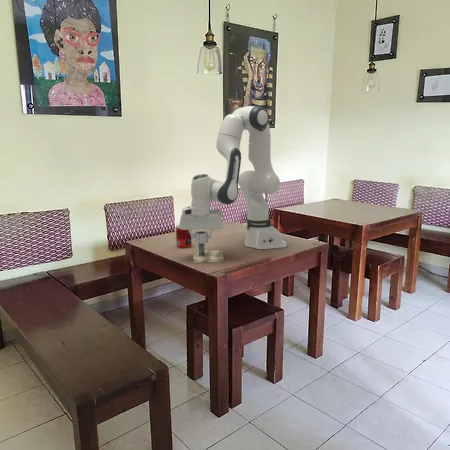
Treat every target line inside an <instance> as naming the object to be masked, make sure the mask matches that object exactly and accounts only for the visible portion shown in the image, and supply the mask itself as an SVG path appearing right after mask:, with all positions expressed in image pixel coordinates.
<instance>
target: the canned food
mask: <svg viewBox="0 0 450 450" xmlns="http://www.w3.org/2000/svg"><path fill="white" fill-rule="evenodd" d="M175 240H176V247H177V248H179V249H189V248H191V247H192V239H191V234H190V233H189V230H181V229H180V224H177V225H175Z"/></svg>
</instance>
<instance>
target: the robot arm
mask: <svg viewBox="0 0 450 450" xmlns="http://www.w3.org/2000/svg"><path fill="white" fill-rule="evenodd" d="M268 123H269V114H268V111H267V109H266V108H265V107H263V106H260V105H247V106H243V107H236V108H233V109H232V110H231V111H230V113H229V114H226V116H225V117H224V119H223V121H222V123H221V125H220V127H219V131H218V133H217V134H218V135H217V137H216V143H215V144H216V150H217V151H218V153H219V154H220V155H221V156H222V157H224V158H225V160H226V162H227V164H226V172H225V179H224V181H220V180H216V179H214V178H212V177H210V175H209V174H207V173H206V174H205V173H204V174H197V175H194V176H192V179H191V184H190V187H191V188H190V193H191V205H188V206H185V207H183V208H182V209H181V213H182V214H181V215H180V219H179V225H180V229H181V230H189V233H190V234H191V240H194V233H193V231H195V230H197V231H199V230H210V233H208V239H212V234H213V233H214V230H222V229H223V218H224V212H223V210H220V209H218V208H217V209H211V201H214V202H216V203H222V204H224V205H229V206H230V205H231V204H233V203H235V201H236V200H237V199H238V195H239V188H241V190H242V191H243V194H244V196H245V200H246V208H247V210H246V213H247V217H246V223H245V224H246V226H245V227H246V234H245V235H246V236H245V240H244V243H243V245H244V246H245V247H248V248H253V249H257V250H269V249H281V248H287V242H286V241H285V240H284V239H283V234H282V233H281V232H280V231H279V230H278V229H277V228H276V227H275V226H273V225H274V224H275V221H274V220H272V219H270V218H269V212H270V211H269V210H270V209H269V206H270V205H269V203H268V201H267V200H266V199H265V197H264V195H268V194H269V195H272V194H276V193H277V191H279V189H280V185H281V180H280V178H279V176H278V175H277V174H276V172H275V170H274V168H273V166H272V165H273V164H272V159H271V148H272V147H271V143H272V141H271V139H272V137H271V129H270V125H269V124H268ZM244 131H248V134H249V136H248V161H250V163H251V164H252V166H253V169H254V170H246V171H242V172H241V173H240V170H241V164H242V163H241V162H242V151H241V148H240V146H241V141H242V136H243V132H244Z"/></svg>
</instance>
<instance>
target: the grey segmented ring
mask: <svg viewBox="0 0 450 450" xmlns="http://www.w3.org/2000/svg"><path fill="white" fill-rule="evenodd" d="M193 234H194V239H193V240H194V241H193V242H194V243H195V244H198V245H199V244H204V245H205V244H208V243H209V238H208V234H209V232H208V231H207V230H206V231H205V230H197V231H194V233H193Z"/></svg>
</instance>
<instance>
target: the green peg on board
mask: <svg viewBox="0 0 450 450" xmlns="http://www.w3.org/2000/svg"><path fill="white" fill-rule="evenodd" d="M192 260H193V261H192V263H194V264H195V263H200V264H201V263H224V261H225V260H224V255H223V251H222V249H220V250H215V249H214V250H206V249H205V243H204V244H199V243H198V250H193V255H192Z"/></svg>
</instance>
